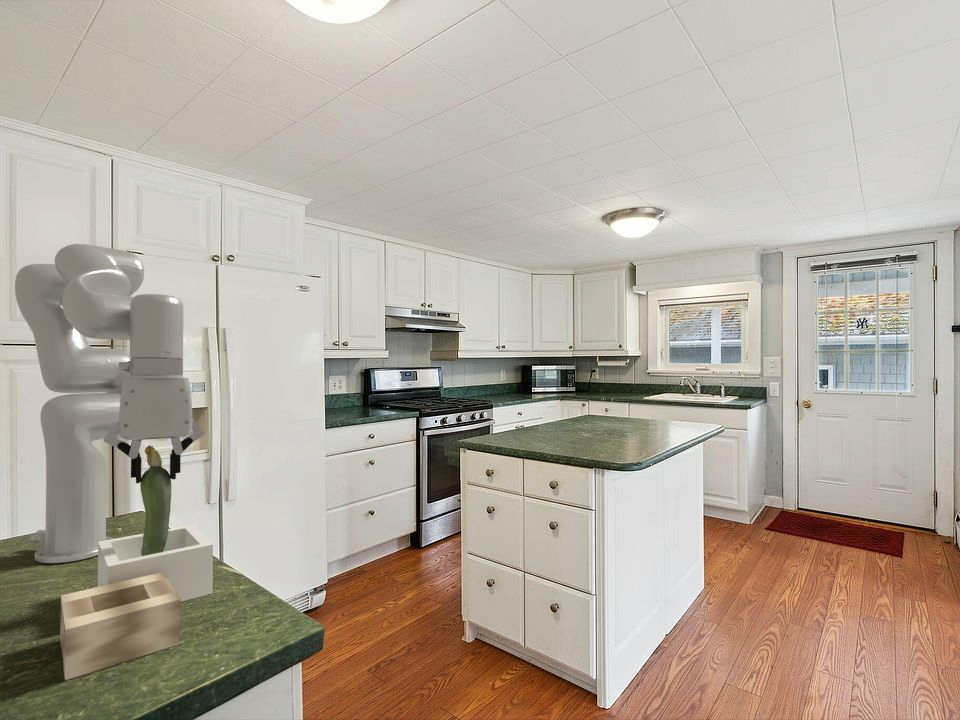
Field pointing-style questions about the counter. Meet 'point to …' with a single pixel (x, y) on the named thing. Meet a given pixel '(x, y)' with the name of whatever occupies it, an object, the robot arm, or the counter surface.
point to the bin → (161, 561)
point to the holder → (118, 623)
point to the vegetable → (155, 503)
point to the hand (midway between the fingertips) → (155, 478)
